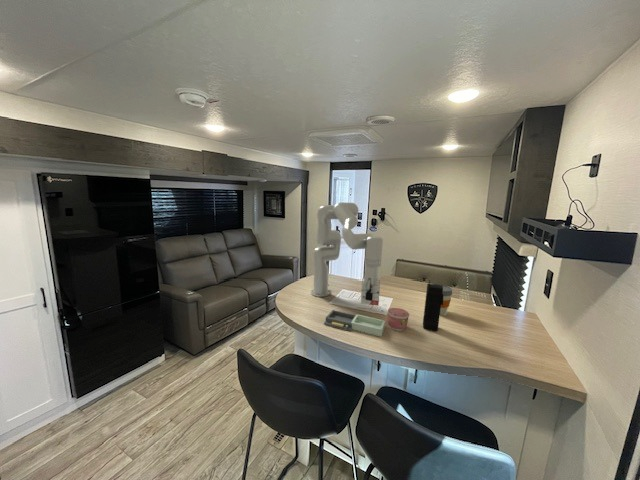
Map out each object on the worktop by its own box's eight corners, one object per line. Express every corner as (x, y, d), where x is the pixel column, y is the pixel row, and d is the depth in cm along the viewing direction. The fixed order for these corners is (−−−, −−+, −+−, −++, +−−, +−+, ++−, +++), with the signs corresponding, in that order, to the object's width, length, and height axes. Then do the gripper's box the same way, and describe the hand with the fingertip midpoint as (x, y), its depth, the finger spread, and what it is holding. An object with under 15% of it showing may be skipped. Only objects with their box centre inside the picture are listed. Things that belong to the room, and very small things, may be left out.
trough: (356, 320, 134) (356, 314, 134) (384, 326, 128) (385, 320, 128) (350, 329, 125) (351, 322, 125) (381, 336, 119) (381, 329, 119)
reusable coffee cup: (443, 319, 139) (447, 293, 137) (421, 310, 148) (424, 286, 146) (453, 312, 147) (456, 288, 145) (431, 305, 157) (434, 282, 154)
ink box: (378, 301, 126) (380, 279, 124) (378, 306, 121) (380, 282, 119) (360, 299, 128) (362, 277, 126) (360, 303, 123) (361, 280, 121)
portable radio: (438, 326, 131) (444, 280, 126) (440, 332, 125) (446, 284, 121) (422, 323, 133) (427, 278, 129) (423, 329, 128) (428, 281, 123)
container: (385, 329, 126) (386, 314, 125) (387, 320, 136) (388, 306, 134) (407, 334, 122) (409, 318, 121) (407, 324, 132) (409, 309, 131)
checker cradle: (333, 313, 141) (333, 308, 141) (358, 318, 136) (358, 313, 135) (323, 324, 129) (324, 319, 128) (350, 331, 123) (350, 325, 123)
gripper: (369, 257, 130) (366, 290, 133) (360, 265, 115) (358, 302, 118) (383, 259, 127) (381, 293, 130) (377, 267, 112) (374, 306, 115)
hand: (370, 297), depth 124 cm, fingers closed on ink box, 5 cm apart
